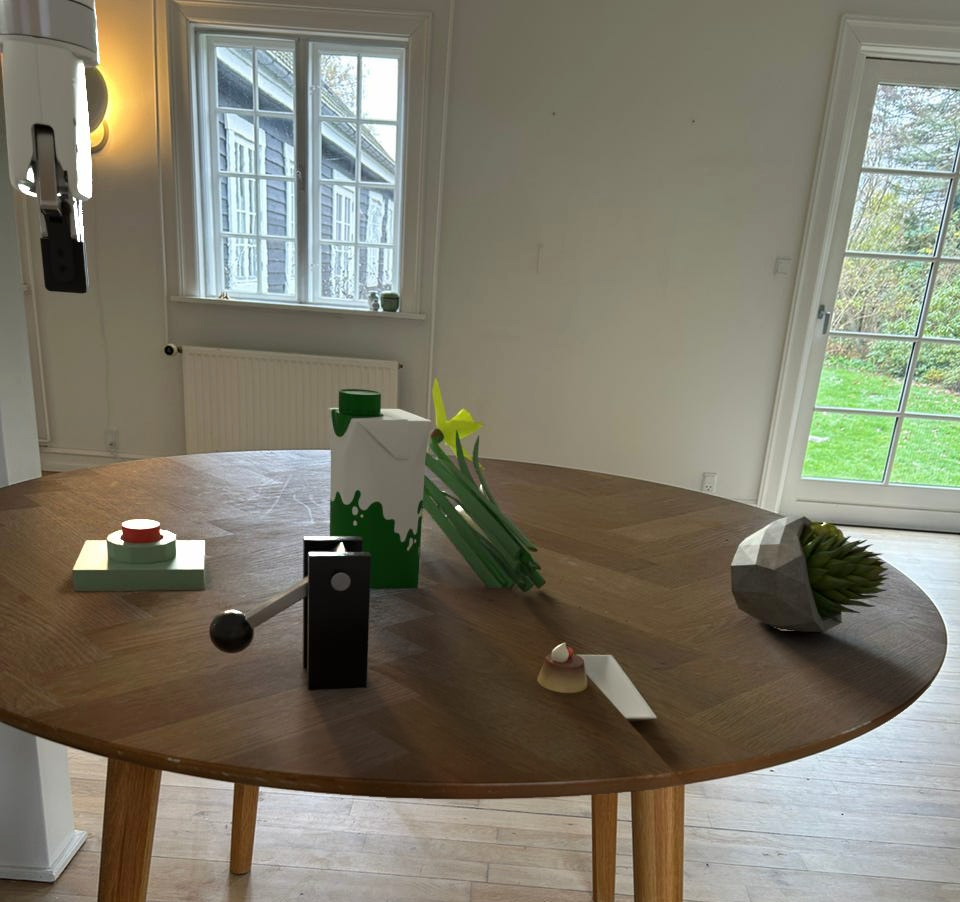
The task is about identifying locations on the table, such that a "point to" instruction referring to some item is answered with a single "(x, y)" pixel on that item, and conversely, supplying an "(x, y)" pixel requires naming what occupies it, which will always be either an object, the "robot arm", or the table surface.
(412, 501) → the milk carton
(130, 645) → the table surface
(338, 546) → the lever
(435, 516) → the daffodil flowers
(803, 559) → the potted plant
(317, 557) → the bracket
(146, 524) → the button
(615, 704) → the dessert
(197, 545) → the control block
